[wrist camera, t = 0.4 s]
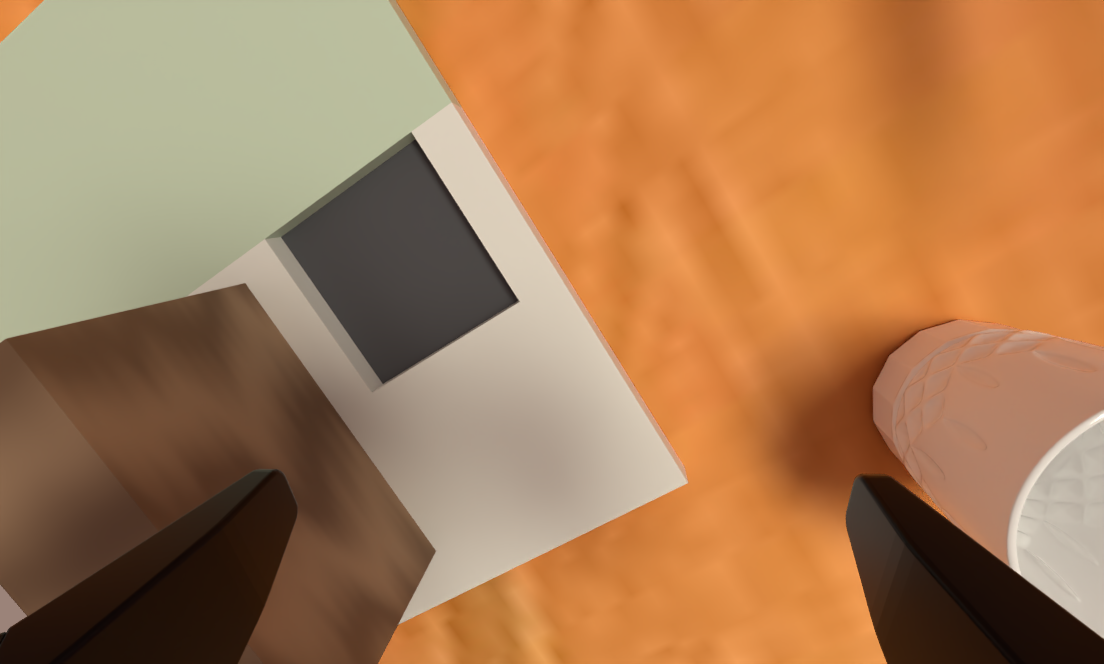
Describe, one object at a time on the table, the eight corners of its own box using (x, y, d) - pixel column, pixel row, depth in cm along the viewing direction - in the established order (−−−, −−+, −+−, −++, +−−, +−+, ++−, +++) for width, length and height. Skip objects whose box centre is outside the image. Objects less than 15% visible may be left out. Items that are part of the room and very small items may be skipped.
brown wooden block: (436, 551, 27) (332, 750, 17) (340, 600, 28) (194, 811, 19) (245, 283, 25) (5, 338, 15) (151, 349, 26) (-124, 440, 16)
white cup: (837, 467, 25) (972, 637, 16) (878, 294, 23) (1061, 364, 14) (1026, 493, 24) (1291, 687, 15) (1085, 316, 23) (1432, 406, 13)
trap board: (684, 466, 26) (688, 482, 25) (220, 697, 33) (202, 720, 31) (282, -182, 22) (258, -209, 20) (-157, 234, 28) (-199, 237, 27)
